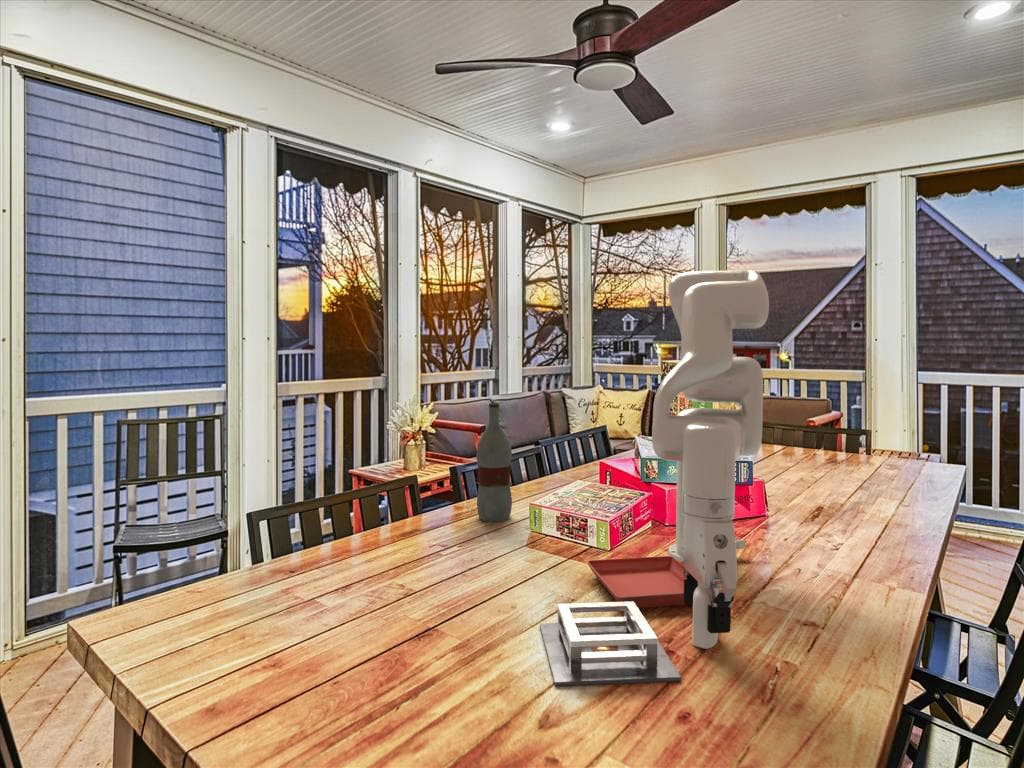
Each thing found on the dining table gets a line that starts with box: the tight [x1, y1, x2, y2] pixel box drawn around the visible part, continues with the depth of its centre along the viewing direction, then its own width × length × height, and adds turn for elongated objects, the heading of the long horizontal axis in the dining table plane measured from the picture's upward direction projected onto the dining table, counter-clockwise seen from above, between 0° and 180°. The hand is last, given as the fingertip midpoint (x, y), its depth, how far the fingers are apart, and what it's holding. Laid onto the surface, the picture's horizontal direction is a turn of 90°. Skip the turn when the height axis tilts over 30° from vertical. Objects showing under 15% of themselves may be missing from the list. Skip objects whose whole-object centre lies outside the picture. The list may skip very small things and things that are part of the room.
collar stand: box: [539, 601, 682, 687], centre depth 89 cm, size 17×17×5 cm
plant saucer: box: [586, 555, 687, 609], centre depth 112 cm, size 18×18×3 cm
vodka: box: [476, 402, 513, 522], centre depth 158 cm, size 9×9×30 cm
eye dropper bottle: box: [691, 581, 720, 650], centre depth 92 cm, size 4×6×12 cm
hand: (705, 617), depth 92 cm, fingers open, 9 cm apart
